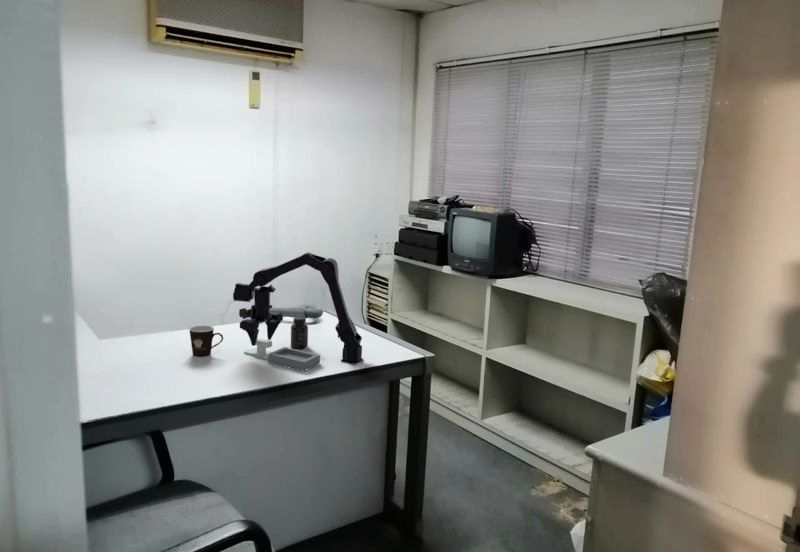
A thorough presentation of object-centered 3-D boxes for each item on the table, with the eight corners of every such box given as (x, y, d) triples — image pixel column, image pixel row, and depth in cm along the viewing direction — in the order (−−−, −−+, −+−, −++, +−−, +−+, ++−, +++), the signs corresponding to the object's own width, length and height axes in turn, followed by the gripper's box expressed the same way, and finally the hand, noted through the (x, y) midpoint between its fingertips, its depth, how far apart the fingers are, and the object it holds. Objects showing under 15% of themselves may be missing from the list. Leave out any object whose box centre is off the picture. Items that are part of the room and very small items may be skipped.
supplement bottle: (309, 345, 245) (310, 316, 243) (305, 350, 238) (306, 320, 236) (292, 343, 245) (293, 315, 243) (288, 348, 239) (288, 319, 237)
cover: (278, 356, 230) (279, 341, 229) (268, 360, 225) (269, 344, 224) (254, 350, 236) (254, 335, 234) (243, 354, 230) (244, 339, 229)
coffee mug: (184, 355, 224) (184, 329, 222) (201, 349, 232) (201, 324, 230) (207, 361, 219) (207, 334, 217) (224, 355, 227) (224, 329, 225)
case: (319, 363, 224) (320, 354, 223) (304, 371, 215) (304, 362, 214) (284, 355, 230) (284, 346, 230) (268, 362, 222) (268, 353, 221)
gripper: (261, 295, 238) (260, 333, 241) (228, 303, 222) (228, 344, 225) (284, 299, 233) (283, 338, 236) (252, 308, 217) (251, 350, 220)
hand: (261, 342), depth 229 cm, fingers open, 9 cm apart
